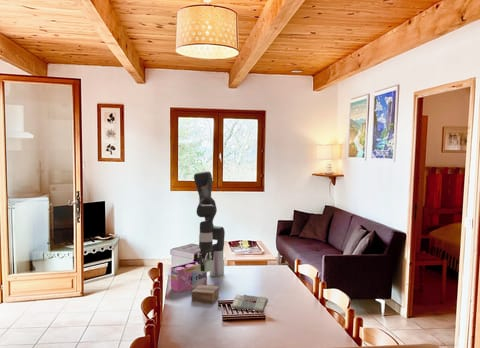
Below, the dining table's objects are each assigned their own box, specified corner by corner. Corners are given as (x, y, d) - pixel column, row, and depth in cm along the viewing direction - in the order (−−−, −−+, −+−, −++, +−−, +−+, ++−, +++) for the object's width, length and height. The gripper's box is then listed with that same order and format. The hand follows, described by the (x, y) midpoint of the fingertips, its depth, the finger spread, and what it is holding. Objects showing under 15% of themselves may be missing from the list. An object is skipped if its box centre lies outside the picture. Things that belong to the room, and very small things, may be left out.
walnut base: (199, 294, 217) (199, 284, 217) (218, 296, 214) (218, 286, 214) (191, 302, 206) (191, 291, 205) (212, 304, 203) (212, 293, 202)
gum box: (200, 280, 242) (201, 259, 241) (208, 283, 236) (209, 262, 236) (170, 289, 224) (170, 267, 224) (178, 292, 219) (178, 270, 218)
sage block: (204, 268, 213) (204, 258, 212) (211, 270, 210) (211, 259, 210) (199, 271, 208) (199, 260, 208) (206, 272, 206) (206, 261, 206)
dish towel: (263, 313, 192) (263, 307, 192) (230, 310, 195) (230, 304, 195) (268, 300, 210) (268, 294, 210) (237, 297, 214) (237, 292, 214)
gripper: (208, 237, 217) (207, 265, 217) (192, 241, 204) (192, 272, 205) (218, 238, 213) (218, 267, 213) (203, 243, 201) (203, 274, 201)
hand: (205, 269), depth 209 cm, fingers closed on sage block, 5 cm apart
